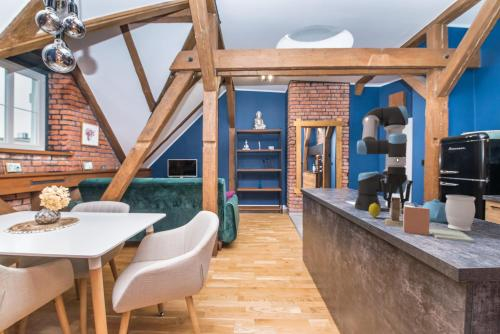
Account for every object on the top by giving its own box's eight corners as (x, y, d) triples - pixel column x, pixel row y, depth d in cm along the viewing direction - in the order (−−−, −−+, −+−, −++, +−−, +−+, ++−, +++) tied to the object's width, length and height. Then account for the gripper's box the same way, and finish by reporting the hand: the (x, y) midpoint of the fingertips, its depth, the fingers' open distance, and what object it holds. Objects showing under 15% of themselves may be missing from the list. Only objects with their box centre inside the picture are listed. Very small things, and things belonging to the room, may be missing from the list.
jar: (480, 233, 108) (481, 198, 107) (452, 231, 110) (454, 197, 109) (464, 226, 118) (465, 194, 117) (439, 225, 120) (440, 194, 120)
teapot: (440, 225, 121) (441, 202, 120) (411, 217, 135) (411, 198, 134) (461, 222, 126) (462, 201, 125) (430, 215, 140) (431, 196, 140)
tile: (402, 231, 109) (403, 206, 109) (427, 233, 106) (428, 208, 105) (403, 232, 107) (404, 207, 107) (428, 235, 104) (429, 208, 104)
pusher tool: (384, 222, 124) (385, 196, 123) (403, 224, 121) (404, 197, 120) (386, 225, 119) (387, 198, 119) (405, 227, 116) (406, 199, 116)
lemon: (370, 218, 132) (371, 203, 131) (367, 216, 137) (367, 201, 137) (381, 219, 131) (382, 204, 131) (377, 216, 136) (378, 202, 136)
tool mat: (426, 229, 113) (426, 227, 113) (459, 232, 108) (459, 230, 108) (436, 238, 100) (436, 236, 100) (474, 242, 95) (474, 240, 95)
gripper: (378, 166, 119) (377, 215, 119) (418, 166, 112) (416, 218, 113) (377, 165, 125) (375, 212, 126) (414, 166, 119) (413, 215, 120)
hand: (395, 215), depth 120 cm, fingers closed on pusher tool, 3 cm apart
